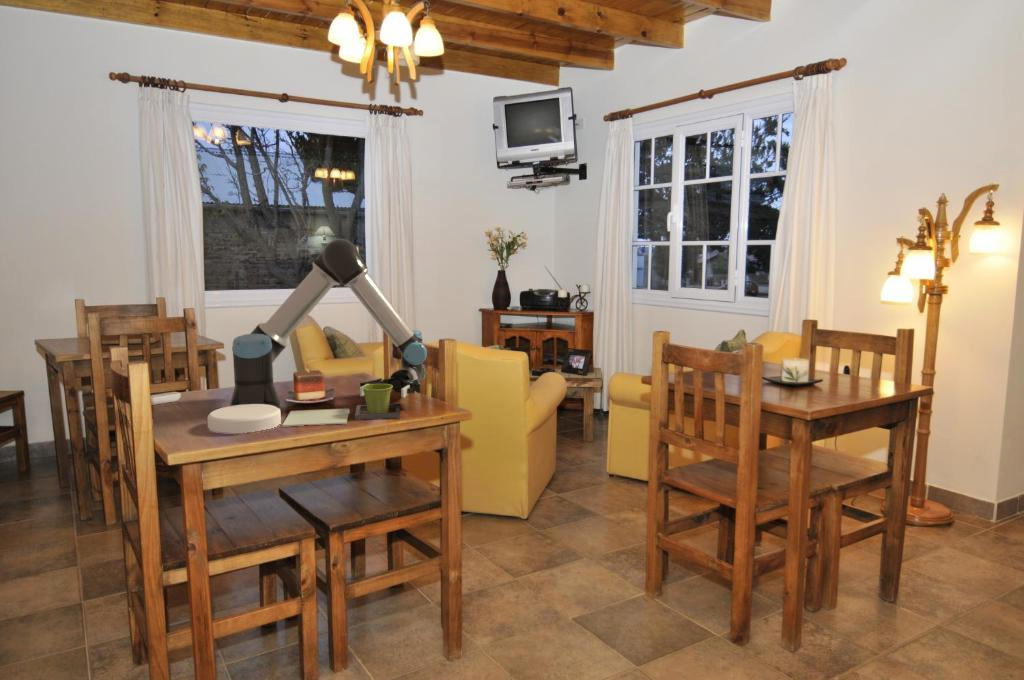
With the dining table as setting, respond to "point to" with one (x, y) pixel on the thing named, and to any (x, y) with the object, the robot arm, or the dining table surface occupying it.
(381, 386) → the plant pot
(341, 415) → the sage mat
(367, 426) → the dining table surface
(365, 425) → the dining table surface
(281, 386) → the dining table surface
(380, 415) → the pot collar
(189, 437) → the dining table surface
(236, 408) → the container
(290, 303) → the robot arm
